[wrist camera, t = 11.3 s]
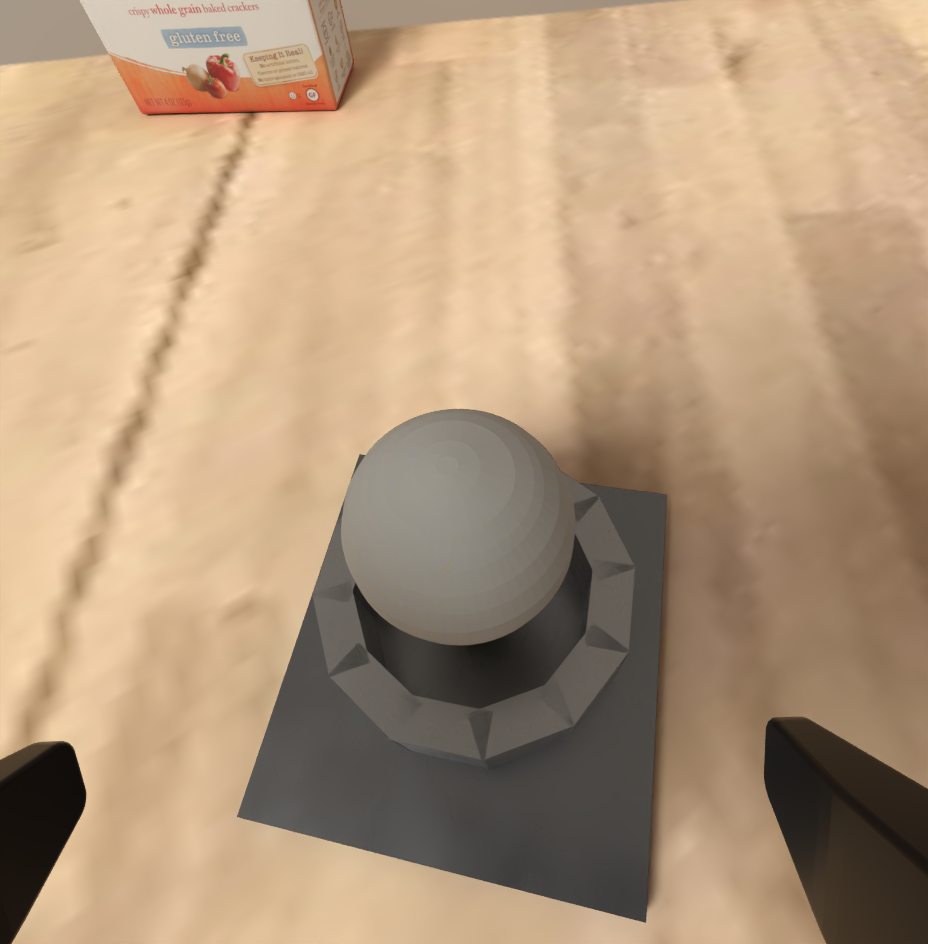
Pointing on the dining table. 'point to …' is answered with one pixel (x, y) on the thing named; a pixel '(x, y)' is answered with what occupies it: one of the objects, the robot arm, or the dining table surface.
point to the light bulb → (458, 527)
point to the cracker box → (227, 53)
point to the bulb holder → (486, 725)
